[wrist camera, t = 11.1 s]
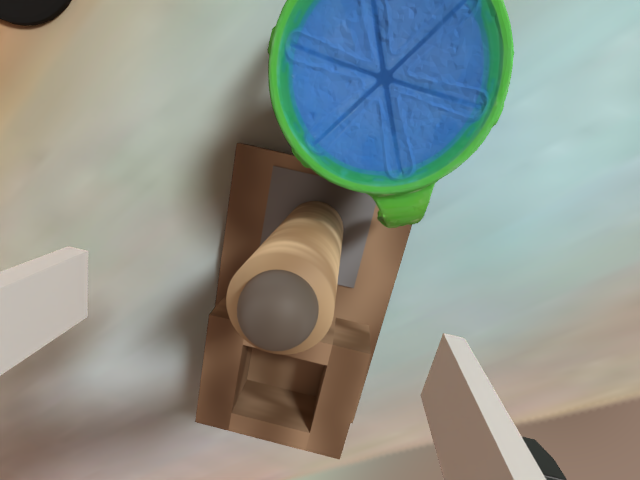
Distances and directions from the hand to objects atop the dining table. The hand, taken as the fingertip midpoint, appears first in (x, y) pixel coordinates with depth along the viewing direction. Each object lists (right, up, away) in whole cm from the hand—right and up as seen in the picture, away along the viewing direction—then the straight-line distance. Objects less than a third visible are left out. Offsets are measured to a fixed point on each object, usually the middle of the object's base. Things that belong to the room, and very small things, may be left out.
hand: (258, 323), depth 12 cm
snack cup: (+6, +13, +12) cm, 19 cm away
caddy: (+1, -1, +17) cm, 17 cm away
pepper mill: (+2, +4, +14) cm, 14 cm away
